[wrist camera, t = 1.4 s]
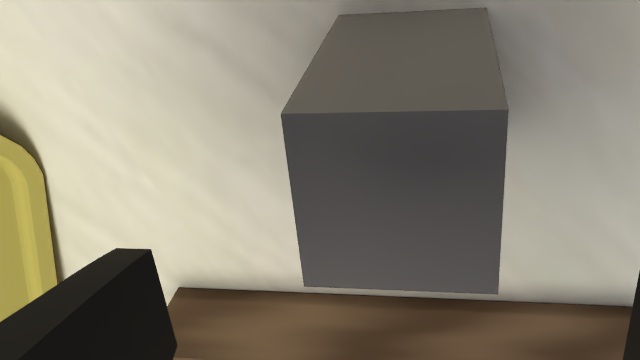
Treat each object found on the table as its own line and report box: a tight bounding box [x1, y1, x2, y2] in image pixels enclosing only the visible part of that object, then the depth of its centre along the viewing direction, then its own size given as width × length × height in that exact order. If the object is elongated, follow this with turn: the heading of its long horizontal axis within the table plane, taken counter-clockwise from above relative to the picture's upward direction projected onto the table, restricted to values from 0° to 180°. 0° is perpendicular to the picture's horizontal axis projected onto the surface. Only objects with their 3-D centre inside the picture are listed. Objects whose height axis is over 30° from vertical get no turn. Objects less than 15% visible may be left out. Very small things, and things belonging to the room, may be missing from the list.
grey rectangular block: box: [281, 8, 508, 294], centre depth 15 cm, size 4×4×7 cm
